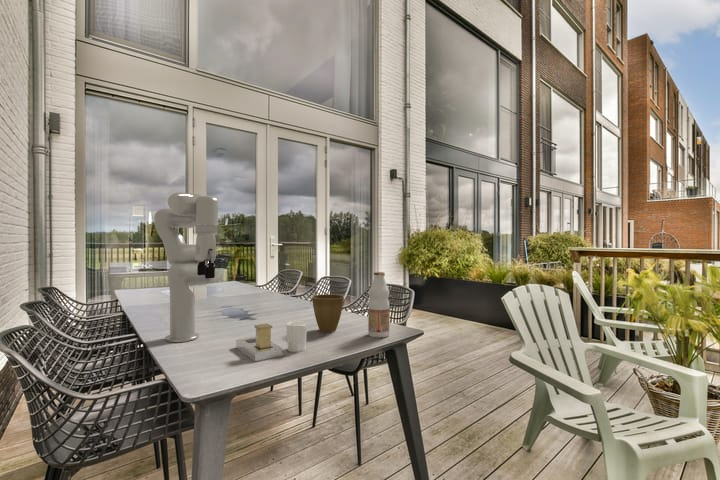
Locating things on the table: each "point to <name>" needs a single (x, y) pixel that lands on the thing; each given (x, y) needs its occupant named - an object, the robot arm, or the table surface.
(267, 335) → the brass square peg
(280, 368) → the table surface
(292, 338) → the white cup
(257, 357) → the rail
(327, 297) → the plant pot
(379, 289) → the fruit juice
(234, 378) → the table surface
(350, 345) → the table surface
